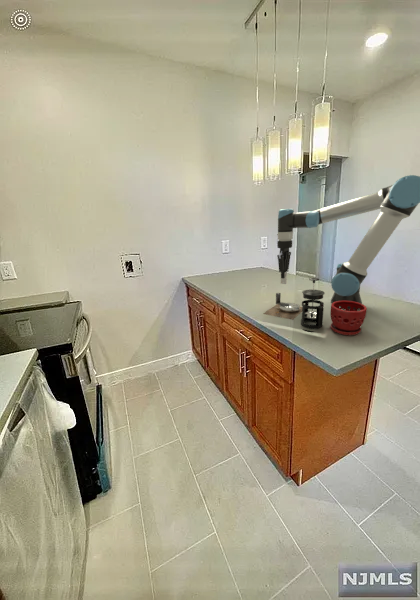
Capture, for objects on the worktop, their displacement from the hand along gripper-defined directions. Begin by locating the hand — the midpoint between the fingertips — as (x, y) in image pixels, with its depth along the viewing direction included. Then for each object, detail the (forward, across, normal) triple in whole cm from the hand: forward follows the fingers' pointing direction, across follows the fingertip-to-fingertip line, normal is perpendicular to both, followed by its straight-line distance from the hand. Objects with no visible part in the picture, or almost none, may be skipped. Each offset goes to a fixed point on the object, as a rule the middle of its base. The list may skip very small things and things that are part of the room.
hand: (283, 283), depth 138 cm
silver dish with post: (+12, +7, +6) cm, 15 cm away
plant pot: (+13, +17, +36) cm, 42 cm away
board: (+13, +10, +6) cm, 18 cm away
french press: (+13, +21, +23) cm, 34 cm away
